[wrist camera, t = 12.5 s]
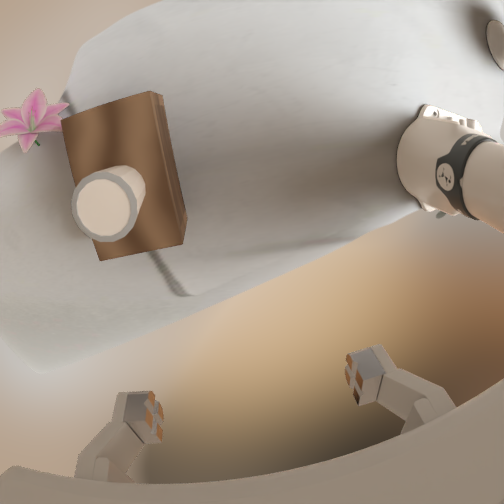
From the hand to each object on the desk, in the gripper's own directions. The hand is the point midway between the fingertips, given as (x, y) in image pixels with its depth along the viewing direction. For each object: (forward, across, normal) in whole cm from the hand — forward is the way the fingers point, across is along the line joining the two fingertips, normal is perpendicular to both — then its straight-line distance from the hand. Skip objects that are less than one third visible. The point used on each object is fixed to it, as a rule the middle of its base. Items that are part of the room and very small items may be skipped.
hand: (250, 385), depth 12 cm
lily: (+34, +23, -16) cm, 45 cm away
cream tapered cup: (+25, +11, -4) cm, 28 cm away
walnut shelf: (+34, +11, -5) cm, 36 cm away
